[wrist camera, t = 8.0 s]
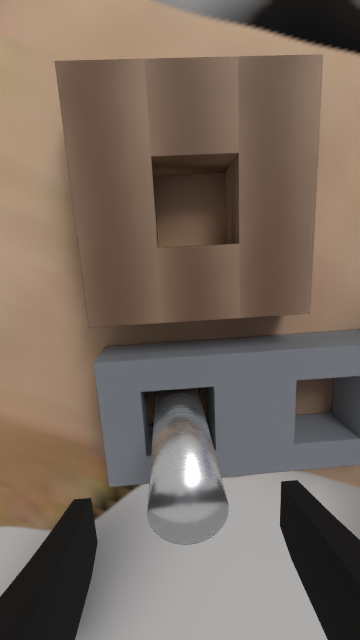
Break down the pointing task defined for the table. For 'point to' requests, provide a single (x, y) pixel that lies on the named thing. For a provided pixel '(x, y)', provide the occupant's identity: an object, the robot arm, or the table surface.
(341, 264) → the table surface
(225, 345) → the tool rack
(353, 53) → the table surface
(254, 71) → the socket block
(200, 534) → the steel peg
